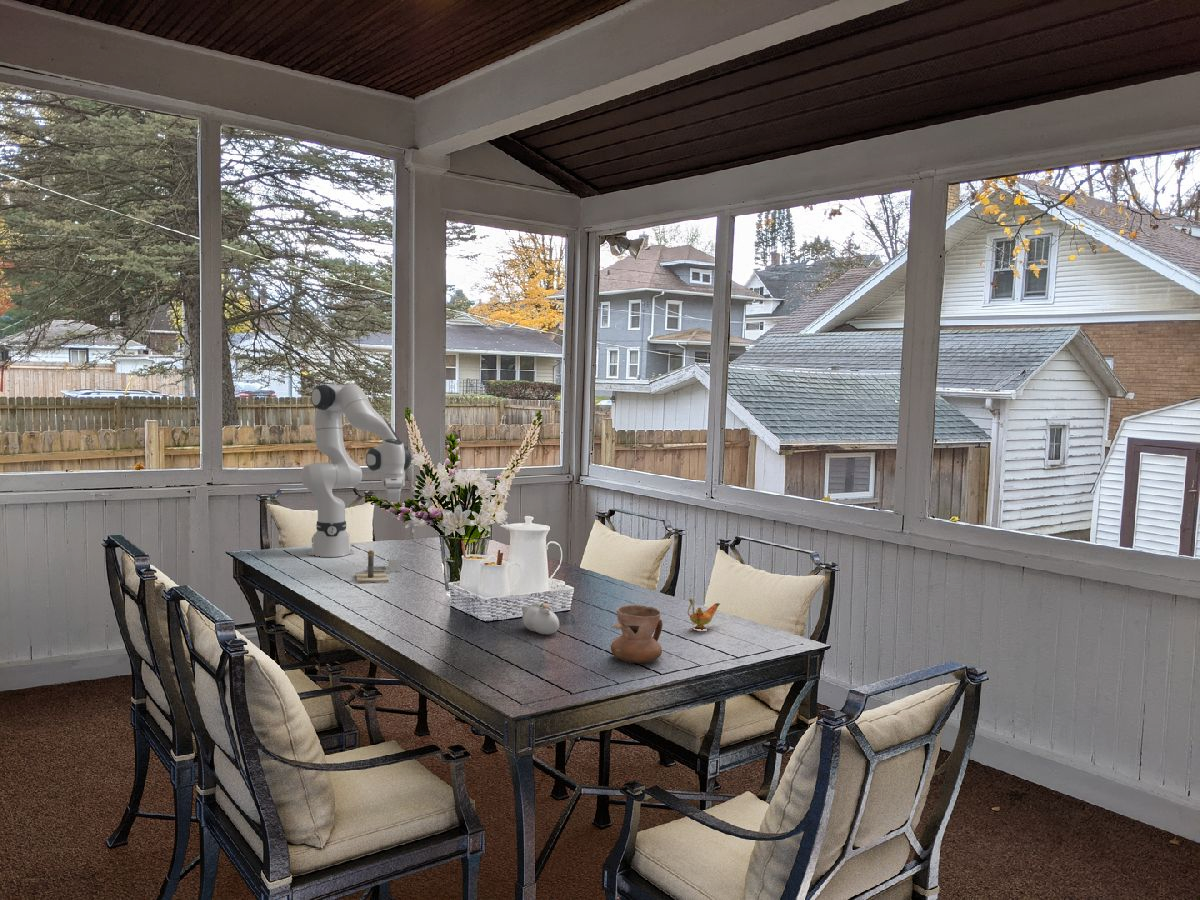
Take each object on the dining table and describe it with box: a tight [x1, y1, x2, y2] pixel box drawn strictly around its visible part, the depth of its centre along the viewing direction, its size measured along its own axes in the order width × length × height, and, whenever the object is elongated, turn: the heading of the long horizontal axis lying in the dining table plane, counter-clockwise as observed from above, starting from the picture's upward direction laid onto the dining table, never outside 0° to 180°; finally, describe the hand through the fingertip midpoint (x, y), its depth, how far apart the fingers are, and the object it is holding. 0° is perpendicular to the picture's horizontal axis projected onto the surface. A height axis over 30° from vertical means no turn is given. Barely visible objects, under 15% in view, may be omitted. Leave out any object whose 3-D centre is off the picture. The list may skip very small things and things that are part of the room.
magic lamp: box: [687, 598, 721, 630], centre depth 285 cm, size 7×18×11 cm, turn 139°
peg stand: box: [354, 550, 389, 584], centre depth 336 cm, size 13×11×11 cm
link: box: [366, 558, 403, 574], centre depth 349 cm, size 8×13×4 cm, turn 109°
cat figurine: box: [520, 601, 560, 636], centre depth 275 cm, size 10×8×15 cm
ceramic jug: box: [610, 604, 663, 664], centre depth 252 cm, size 18×14×14 cm
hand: (392, 516), depth 348 cm, fingers open, 8 cm apart
